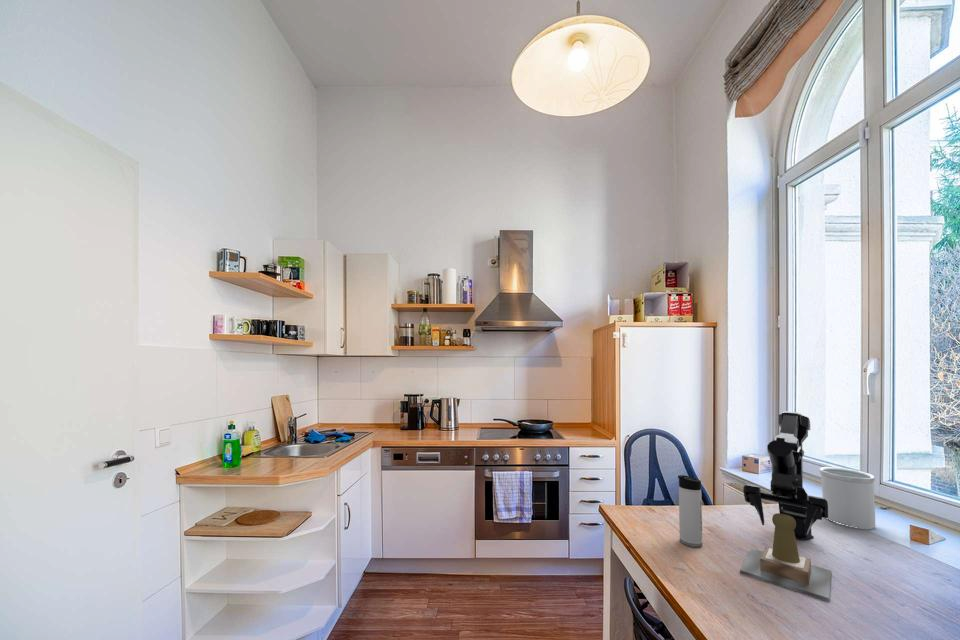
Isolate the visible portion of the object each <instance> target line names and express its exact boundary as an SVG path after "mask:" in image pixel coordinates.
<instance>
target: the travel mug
mask: <svg viewBox="0 0 960 640" xmlns="http://www.w3.org/2000/svg"><path fill="white" fill-rule="evenodd" d="M677 478H678V507H679V508H678V511H679V513H678V516H679V517H678V518H679V520H678V521H679V522H678V523H679V542H680V543H682V544H683V545H685V546H687V547H690V548H691V547H692V548H700V547H702V546H703V510H702V509H703V508H702V503H703V502H702V481H701V480H699V479H697V478H696V477H693V476H688V475H683V474H681V475H678V476H677Z"/></svg>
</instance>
